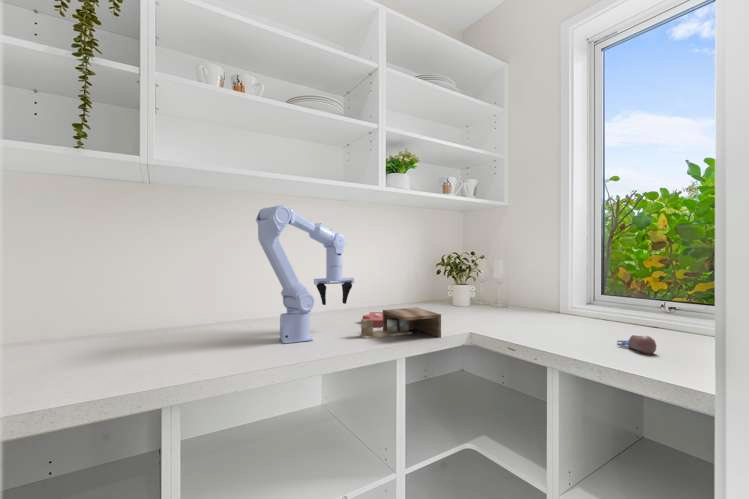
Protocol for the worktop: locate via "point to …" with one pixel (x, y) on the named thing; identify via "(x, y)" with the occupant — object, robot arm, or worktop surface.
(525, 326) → the worktop surface
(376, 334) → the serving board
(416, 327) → the wooden crate block
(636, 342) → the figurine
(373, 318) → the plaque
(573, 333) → the worktop surface
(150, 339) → the worktop surface
